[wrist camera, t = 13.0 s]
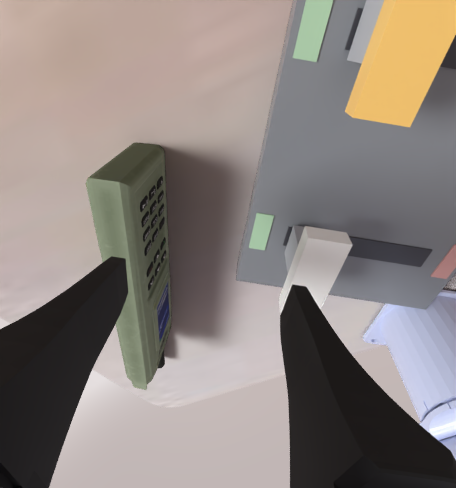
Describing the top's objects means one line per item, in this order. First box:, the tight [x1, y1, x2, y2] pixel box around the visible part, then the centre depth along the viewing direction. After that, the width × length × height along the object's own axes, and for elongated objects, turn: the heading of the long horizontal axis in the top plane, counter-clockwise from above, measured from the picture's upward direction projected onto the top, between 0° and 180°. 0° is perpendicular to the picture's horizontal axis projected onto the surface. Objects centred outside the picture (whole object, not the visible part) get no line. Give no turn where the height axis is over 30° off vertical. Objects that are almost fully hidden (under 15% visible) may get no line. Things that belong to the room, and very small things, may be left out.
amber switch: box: [345, 0, 456, 127], centre depth 12 cm, size 2×6×4 cm, turn 172°
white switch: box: [279, 225, 352, 313], centre depth 19 cm, size 2×6×4 cm, turn 172°
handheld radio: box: [86, 143, 172, 390], centre depth 24 cm, size 7×3×25 cm
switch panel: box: [236, 0, 456, 310], centre depth 18 cm, size 16×22×2 cm
